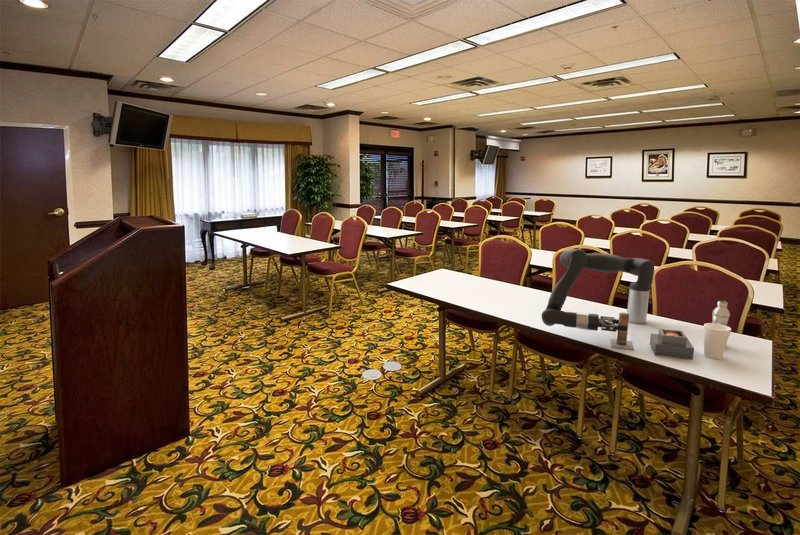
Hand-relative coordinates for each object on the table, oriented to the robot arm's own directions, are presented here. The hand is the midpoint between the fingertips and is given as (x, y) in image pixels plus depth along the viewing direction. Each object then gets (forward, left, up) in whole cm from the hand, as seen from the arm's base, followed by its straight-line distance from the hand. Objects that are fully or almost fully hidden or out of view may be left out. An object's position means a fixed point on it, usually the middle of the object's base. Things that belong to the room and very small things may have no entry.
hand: (626, 325), depth 199 cm
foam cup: (0, +34, -10) cm, 35 cm away
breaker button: (+1, +18, -4) cm, 19 cm away
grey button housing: (+1, +18, -9) cm, 20 cm away
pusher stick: (0, -1, -9) cm, 9 cm away
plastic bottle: (-16, +39, -10) cm, 43 cm away
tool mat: (0, -1, -9) cm, 9 cm away
